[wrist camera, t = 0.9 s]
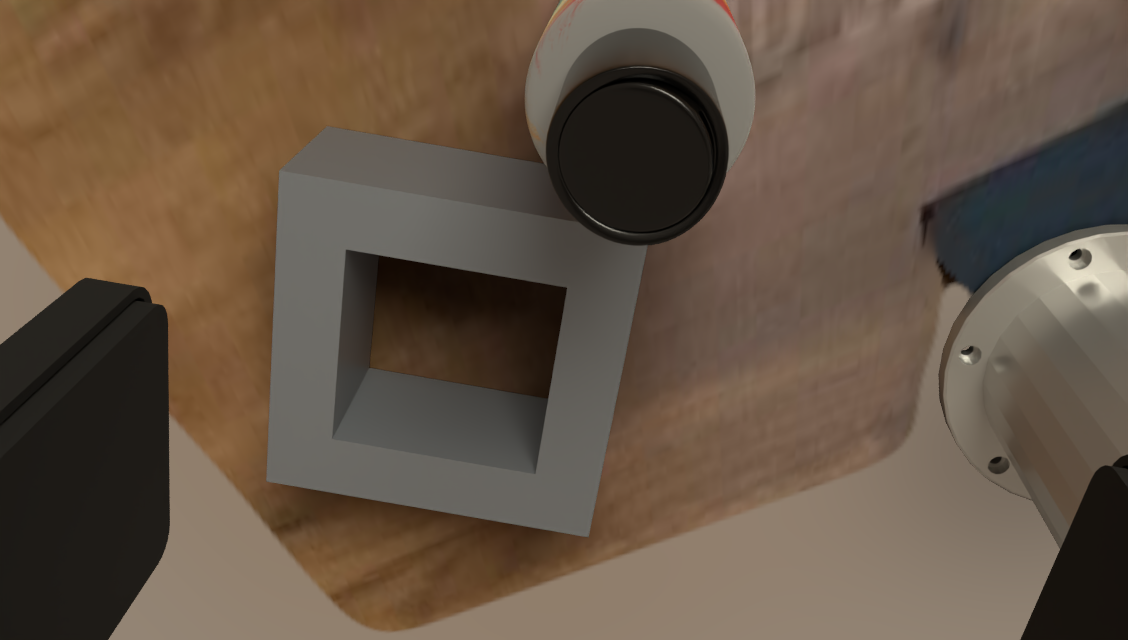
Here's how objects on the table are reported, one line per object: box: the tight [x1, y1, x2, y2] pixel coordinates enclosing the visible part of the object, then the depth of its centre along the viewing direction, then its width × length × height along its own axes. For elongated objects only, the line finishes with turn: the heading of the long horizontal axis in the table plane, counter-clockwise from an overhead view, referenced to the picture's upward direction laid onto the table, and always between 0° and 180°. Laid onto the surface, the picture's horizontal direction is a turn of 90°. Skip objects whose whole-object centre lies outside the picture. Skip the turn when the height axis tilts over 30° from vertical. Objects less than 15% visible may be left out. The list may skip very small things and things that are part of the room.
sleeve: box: [266, 126, 648, 537], centre depth 42 cm, size 13×13×6 cm
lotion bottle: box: [525, 0, 755, 246], centre depth 30 cm, size 6×6×20 cm
